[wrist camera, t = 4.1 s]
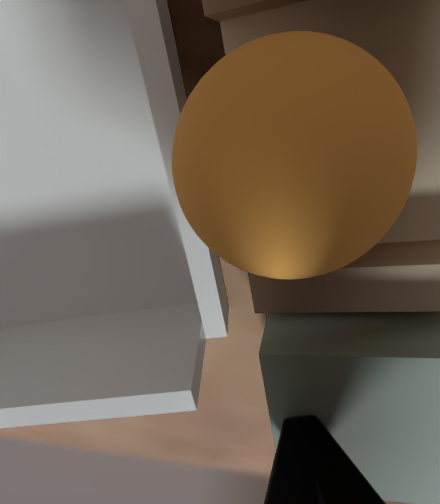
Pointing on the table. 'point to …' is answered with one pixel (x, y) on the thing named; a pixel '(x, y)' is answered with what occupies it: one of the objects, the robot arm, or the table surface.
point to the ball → (294, 155)
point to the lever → (364, 270)
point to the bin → (96, 218)
